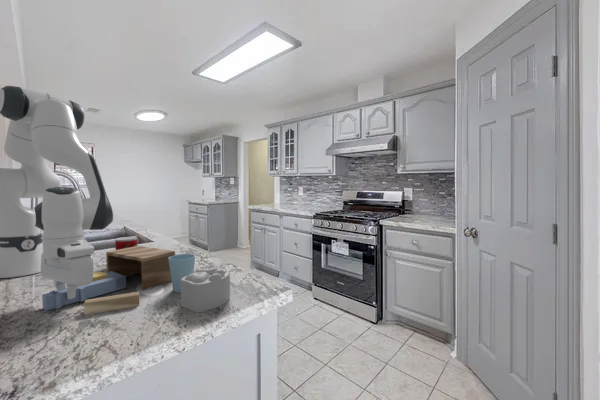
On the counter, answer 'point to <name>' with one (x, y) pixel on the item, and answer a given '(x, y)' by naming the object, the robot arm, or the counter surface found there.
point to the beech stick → (111, 303)
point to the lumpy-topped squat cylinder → (205, 289)
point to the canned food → (125, 242)
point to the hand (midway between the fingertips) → (66, 296)
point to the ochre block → (99, 276)
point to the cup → (180, 269)
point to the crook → (85, 291)
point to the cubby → (141, 264)
